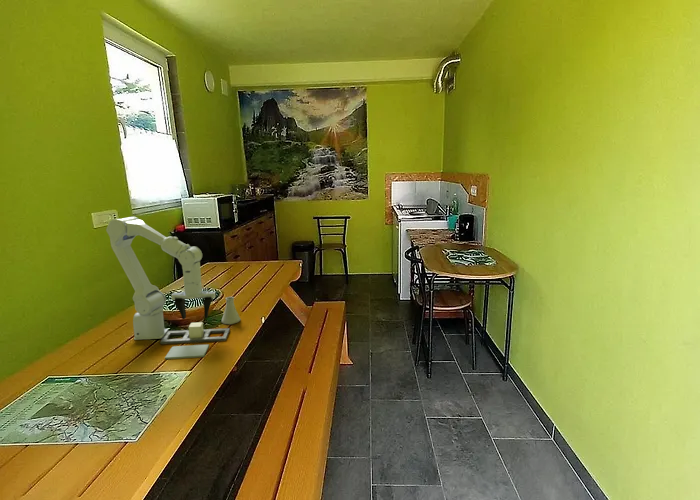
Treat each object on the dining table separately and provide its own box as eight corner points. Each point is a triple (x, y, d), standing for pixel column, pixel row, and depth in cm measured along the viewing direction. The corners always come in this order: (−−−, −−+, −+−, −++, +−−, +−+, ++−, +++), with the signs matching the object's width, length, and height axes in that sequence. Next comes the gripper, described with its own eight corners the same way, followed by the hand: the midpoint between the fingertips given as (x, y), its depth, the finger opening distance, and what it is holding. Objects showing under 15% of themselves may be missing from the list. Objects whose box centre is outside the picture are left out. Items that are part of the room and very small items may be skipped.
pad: (165, 359, 120) (164, 357, 120) (172, 348, 128) (172, 346, 128) (204, 356, 122) (203, 355, 122) (209, 346, 130) (209, 344, 130)
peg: (189, 340, 135) (188, 327, 134) (192, 335, 138) (191, 322, 137) (201, 339, 135) (200, 326, 134) (203, 334, 139) (202, 322, 138)
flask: (217, 322, 150) (216, 299, 148) (231, 316, 157) (229, 294, 155) (231, 326, 147) (229, 302, 145) (244, 320, 153) (242, 296, 151)
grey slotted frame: (160, 344, 131) (160, 341, 131) (168, 333, 140) (168, 331, 139) (225, 340, 134) (225, 338, 134) (229, 330, 143) (229, 328, 143)
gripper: (167, 285, 128) (170, 322, 130) (211, 283, 130) (214, 320, 133) (173, 279, 134) (176, 315, 137) (215, 278, 137) (217, 313, 139)
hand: (195, 317), depth 135 cm, fingers open, 7 cm apart
